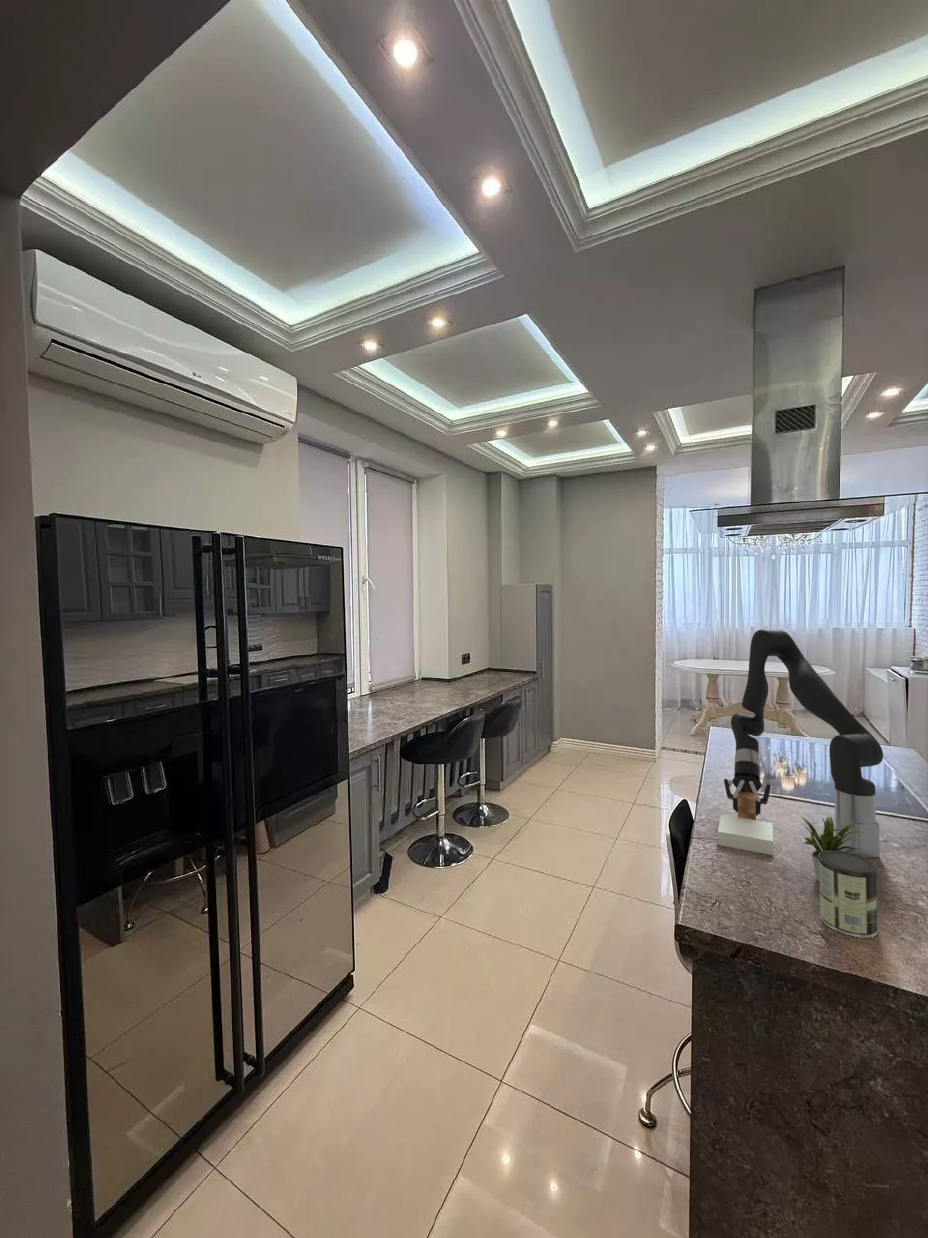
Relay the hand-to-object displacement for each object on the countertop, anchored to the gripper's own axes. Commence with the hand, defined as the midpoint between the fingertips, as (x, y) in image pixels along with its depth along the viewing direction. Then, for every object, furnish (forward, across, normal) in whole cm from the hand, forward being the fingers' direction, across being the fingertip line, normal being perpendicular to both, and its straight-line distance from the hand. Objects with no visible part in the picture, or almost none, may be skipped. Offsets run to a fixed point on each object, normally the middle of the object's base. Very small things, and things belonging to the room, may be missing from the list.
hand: (746, 812), depth 162 cm
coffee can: (+36, +21, -30) cm, 51 cm away
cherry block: (+2, 0, +4) cm, 5 cm away
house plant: (+24, +20, -17) cm, 35 cm away
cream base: (+11, 0, -5) cm, 13 cm away
